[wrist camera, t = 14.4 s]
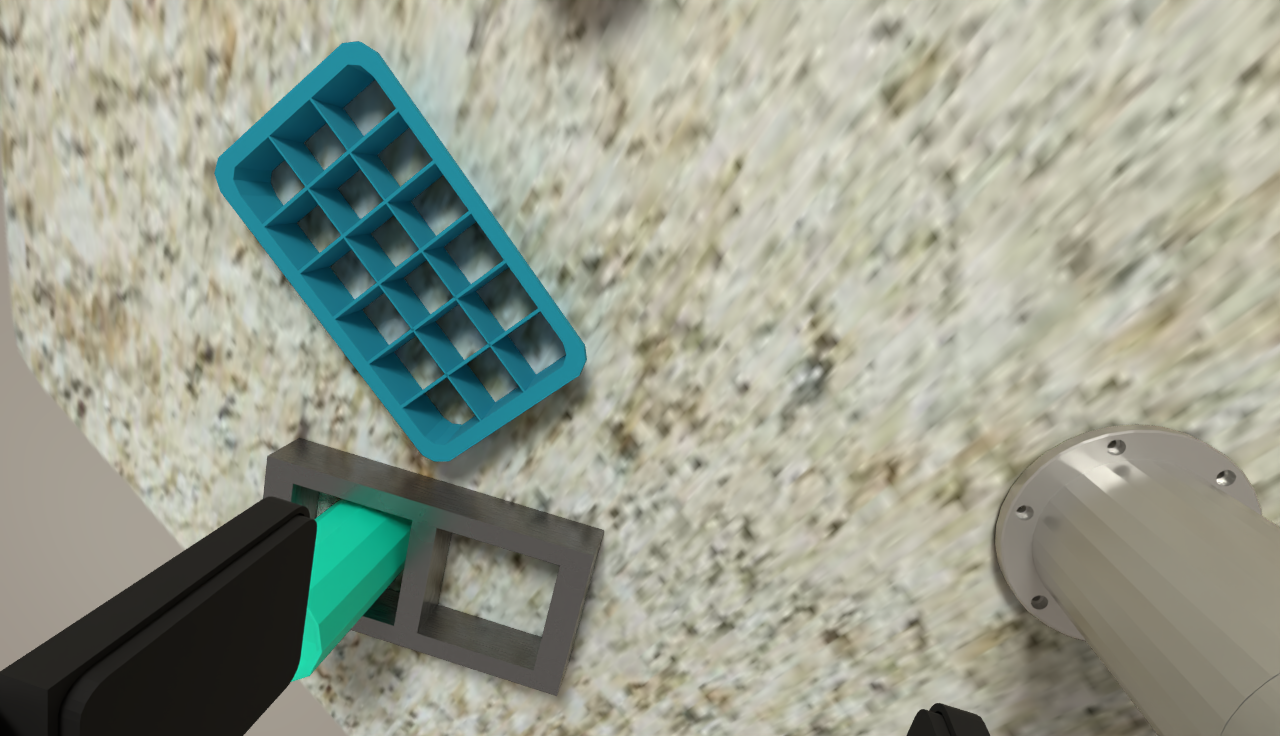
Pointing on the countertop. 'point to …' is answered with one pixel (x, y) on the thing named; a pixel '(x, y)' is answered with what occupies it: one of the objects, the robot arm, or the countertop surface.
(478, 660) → the hollow block
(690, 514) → the countertop surface
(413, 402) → the ice cube tray
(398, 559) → the candle
